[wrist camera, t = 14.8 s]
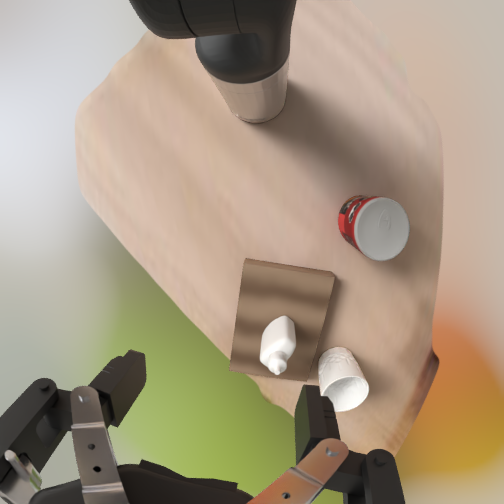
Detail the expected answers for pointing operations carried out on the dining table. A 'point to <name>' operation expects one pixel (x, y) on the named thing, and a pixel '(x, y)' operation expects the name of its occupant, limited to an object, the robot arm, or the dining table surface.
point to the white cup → (342, 379)
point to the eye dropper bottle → (278, 344)
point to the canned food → (374, 226)
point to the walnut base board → (279, 314)
